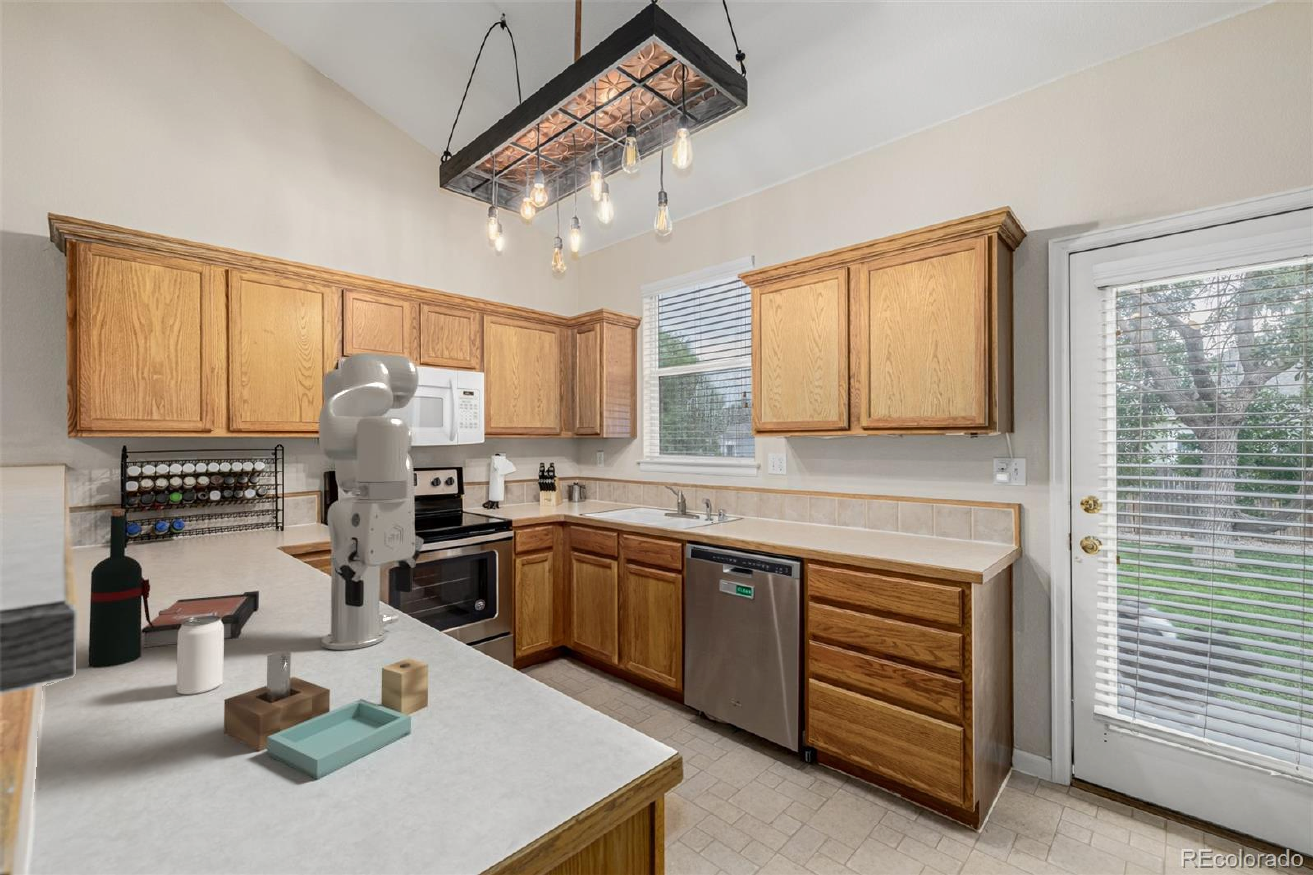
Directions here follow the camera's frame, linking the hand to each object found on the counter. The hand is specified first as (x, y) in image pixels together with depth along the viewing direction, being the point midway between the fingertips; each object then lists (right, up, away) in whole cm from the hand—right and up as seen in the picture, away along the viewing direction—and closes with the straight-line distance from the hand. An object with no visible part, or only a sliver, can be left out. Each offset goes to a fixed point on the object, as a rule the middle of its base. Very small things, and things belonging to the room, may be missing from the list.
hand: (380, 598), depth 94 cm
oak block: (+3, -19, +1) cm, 19 cm away
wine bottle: (-63, -19, +23) cm, 69 cm away
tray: (-1, -18, -10) cm, 21 cm away
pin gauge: (-13, -17, -5) cm, 22 cm away
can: (-36, -19, +9) cm, 41 cm away
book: (-62, -19, +43) cm, 78 cm away
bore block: (-13, -18, -5) cm, 23 cm away
